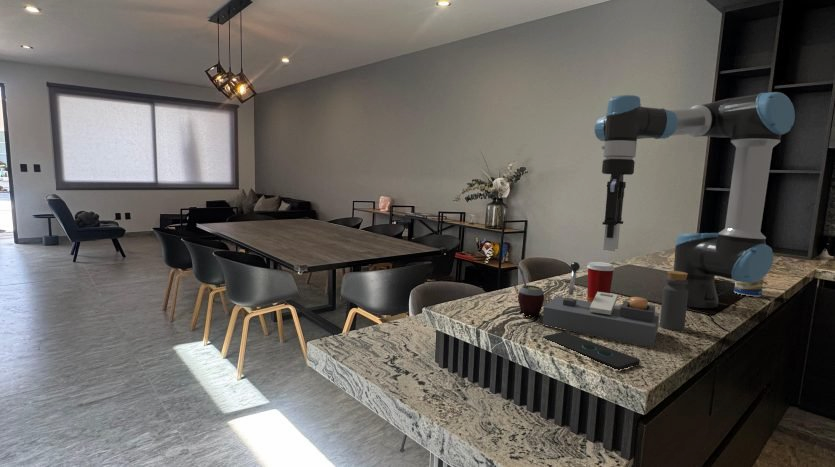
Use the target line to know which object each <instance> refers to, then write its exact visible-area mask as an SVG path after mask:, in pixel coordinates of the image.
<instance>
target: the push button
mask: <svg viewBox="0 0 835 467" xmlns="http://www.w3.org/2000/svg"><path fill="white" fill-rule="evenodd" d="M629 302H630V303H629V307H631V308H637V309H643V310H647V305H648V302H649V300H648V299H647V298H645V297H639V296H630V298H629Z"/></svg>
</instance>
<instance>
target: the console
mask: <svg viewBox="0 0 835 467" xmlns="http://www.w3.org/2000/svg"><path fill="white" fill-rule="evenodd" d="M629 303H630V301H626V300H624V301H623V302H622V304H621V305H620V306H618V305H615V306H614V308H613V311H612V313H611V315H607V314H601V313H596V312H590V306H591V304H592V302H588V301H587V300H583V299H582V300H581V299H576V298H572V297H571V298H570V297H564V296H556V297H555V298H553V299H552V300H551V301H550V302H548V303H547V304H546V305H545V306H544V305H543V311H542V324H544V325H548V326H552V327H557V328H561V329H566V330H570V331H569V332H571V331H575V332H574V333H577V332H579V333H578V334H582V333H583V335H587V336H594V337H597V338H601V339H607V340H612V341H616V342H617V341H618V342H622V343H628V344H634V345H637V346H644V347H648V348H652V349H653V348H654V346H655V341H656V340H657V339H656V338H657V334H658V330H659V329H658V328H659V322H660V312H656V305H651V304H647V310H643V309H637V308H631V307H629ZM561 329H560V330H561ZM566 330H565V331H566Z"/></svg>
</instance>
